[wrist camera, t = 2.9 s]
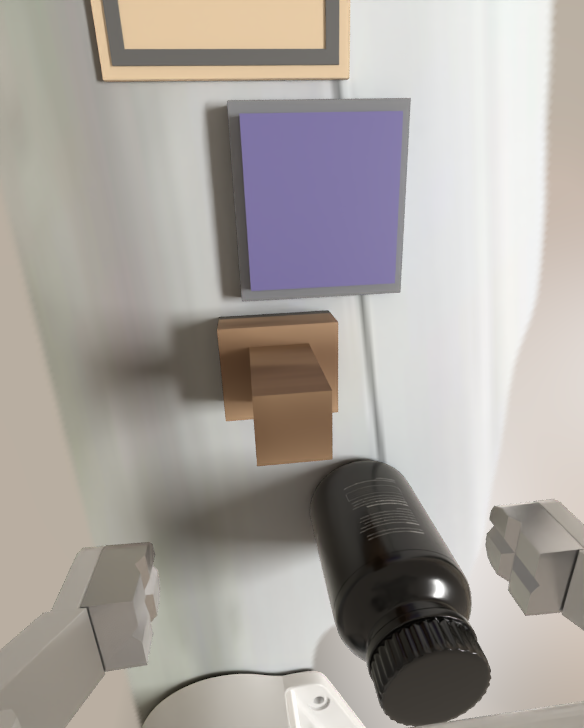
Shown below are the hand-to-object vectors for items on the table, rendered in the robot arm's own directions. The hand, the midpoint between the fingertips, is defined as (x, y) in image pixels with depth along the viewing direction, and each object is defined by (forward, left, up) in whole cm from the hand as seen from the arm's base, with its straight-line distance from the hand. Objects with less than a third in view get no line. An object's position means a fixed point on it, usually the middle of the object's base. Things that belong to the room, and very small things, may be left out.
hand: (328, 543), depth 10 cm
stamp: (0, 0, -15) cm, 15 cm away
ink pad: (+5, -6, -15) cm, 17 cm away
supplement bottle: (-12, +3, -15) cm, 20 cm away
